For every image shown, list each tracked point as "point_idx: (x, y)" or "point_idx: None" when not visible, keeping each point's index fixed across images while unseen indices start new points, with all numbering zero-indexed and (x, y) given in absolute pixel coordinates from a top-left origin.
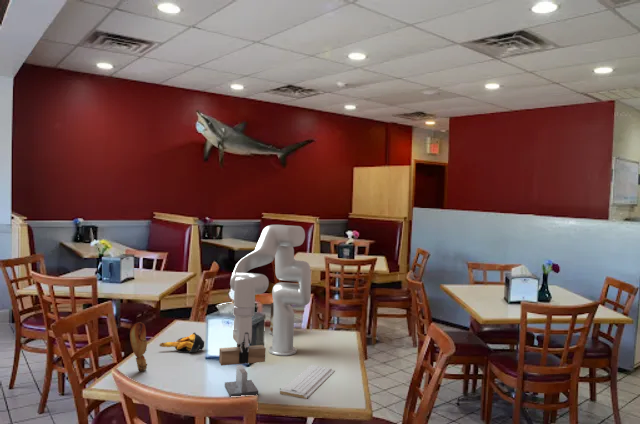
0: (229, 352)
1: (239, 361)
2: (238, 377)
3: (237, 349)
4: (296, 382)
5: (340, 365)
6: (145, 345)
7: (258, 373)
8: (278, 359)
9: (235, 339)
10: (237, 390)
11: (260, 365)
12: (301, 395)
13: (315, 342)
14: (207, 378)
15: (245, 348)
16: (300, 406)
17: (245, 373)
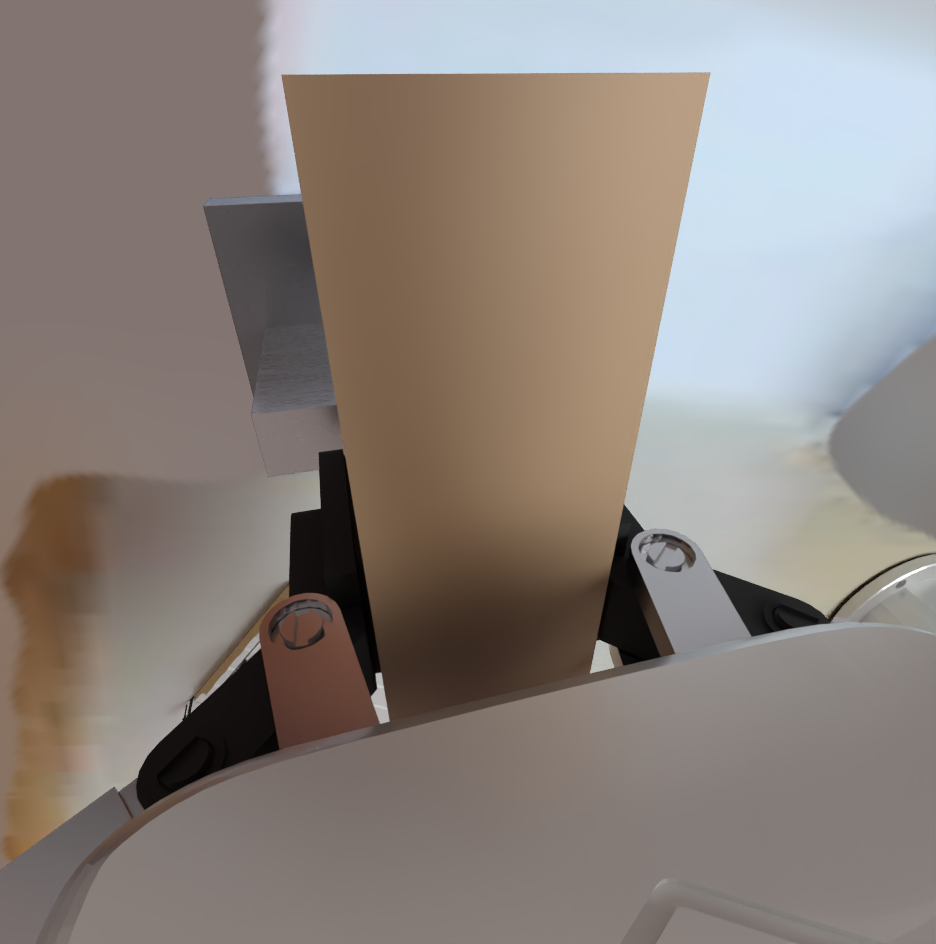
0: (334, 363)
1: (319, 464)
2: None
3: (433, 563)
4: None
5: None
6: None
7: (676, 481)
8: (809, 588)
9: (569, 759)
10: (298, 294)
11: (790, 500)
12: (210, 687)
13: None
14: (792, 22)
15: (66, 833)
16: (55, 671)
17: (262, 453)
